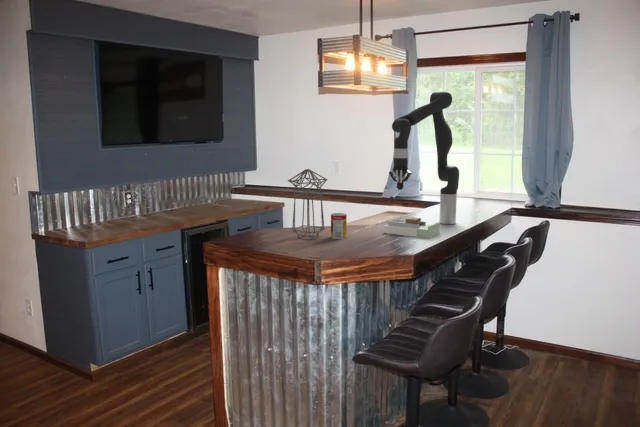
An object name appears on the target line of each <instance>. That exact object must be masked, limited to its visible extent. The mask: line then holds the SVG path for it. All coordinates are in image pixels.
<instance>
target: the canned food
mask: <svg viewBox="0 0 640 427" xmlns="http://www.w3.org/2000/svg"><path fill="white" fill-rule="evenodd" d="M347 219H348V218H347V213H343V212H335V213H330V238H331V239H333V240H344V239H346V238H347V223H348V222H347Z"/></svg>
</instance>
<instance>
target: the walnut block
mask: <svg viewBox="0 0 640 427" xmlns="http://www.w3.org/2000/svg"><path fill="white" fill-rule="evenodd" d="M405 220H406V223H412V224H419V226H421V221H422V218H421V217H413V216H412V217H411V216H409V217H407V218H405Z"/></svg>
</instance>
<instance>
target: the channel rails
mask: <svg viewBox="0 0 640 427" xmlns="http://www.w3.org/2000/svg"><path fill="white" fill-rule="evenodd" d="M426 222H427V221H423V220H421V225H423V226H426V225H427V223H426ZM387 225H391V226H400V227H410V228H419V224H412V223H406V219H403V218H402V219H401V218H395V221H387Z"/></svg>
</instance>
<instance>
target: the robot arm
mask: <svg viewBox="0 0 640 427" xmlns="http://www.w3.org/2000/svg"><path fill="white" fill-rule="evenodd" d="M452 103H453V96H452V94H451V93H450V92H449V91H434V92H433V93H431V95H430V96H429V103H427V104H425V105H422V106H419V107H417V108H415V109H414V110H412V111H410V112H408V113H407V114H405V115H403V116H400V117H398V118H396V119H395V120H394V121H393V122H392V124H391V129H392V131H393V132H395V133H399V135H398V137H396V138H395V139H394V141H393V142H394V144H393V146H394V147H393V148H394V151H393V168H392V170H391V171H389V172H388V174H389V176H390V177H391V179H392V180H393V182H396V188H397V190H398V191H401V190H402V191H403V189H404V183H405V182H408V180H409V179H410V177H412V175H413V172H412V171H410V170H409V168H408V166H409V164H408V162H409V150H408V148H409V146H408V145H409V143H408V142H409V138H410V135H411V131H412V127H413V126H415V125H417V124H419V123H421V122H422V121H423V120H426V118H428V117H430V116H432V120H433V128H434V129H433V130H434V139H435V145H436V146H435V147H436V156H437V158H436V159H437V177H438V179H439V180H440V181H441V182H446V183H447V184H446V186H444V187H441V188H440V192H439V194H440V195H439V200H440V201H439V204H440V205H439V221H438V222H440V224H443V225H455V224H456V221H457V197H458V196H457V195H458V189H459V182H460V170H459V168H458V167H457V166H456V165H449V164H448V155H449V153H450V151H451V148H452V147H453V146H452V145H453V132H452V128H451V127H450V125H449V124H448V122H447V121H446V118H445V116H444V111H443V110H445V109H447V108H449V107H450V106H451V105H452Z"/></svg>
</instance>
